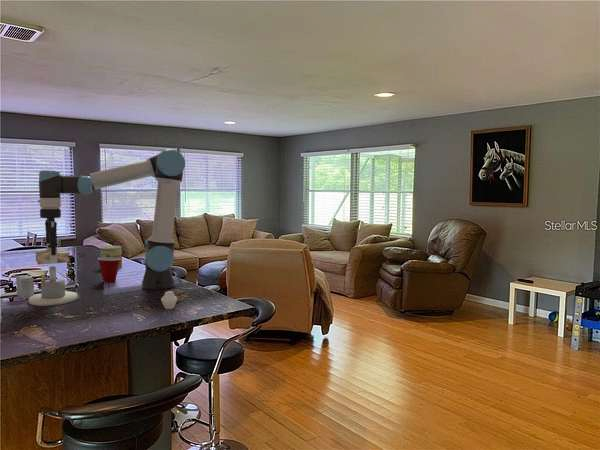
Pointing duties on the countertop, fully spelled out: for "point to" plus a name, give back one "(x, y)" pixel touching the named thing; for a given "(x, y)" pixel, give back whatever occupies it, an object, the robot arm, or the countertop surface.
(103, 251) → the canned food
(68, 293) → the post stand
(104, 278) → the plastic cup
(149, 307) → the countertop surface
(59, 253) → the slotted arch block
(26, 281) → the medicine box
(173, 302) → the muffin
